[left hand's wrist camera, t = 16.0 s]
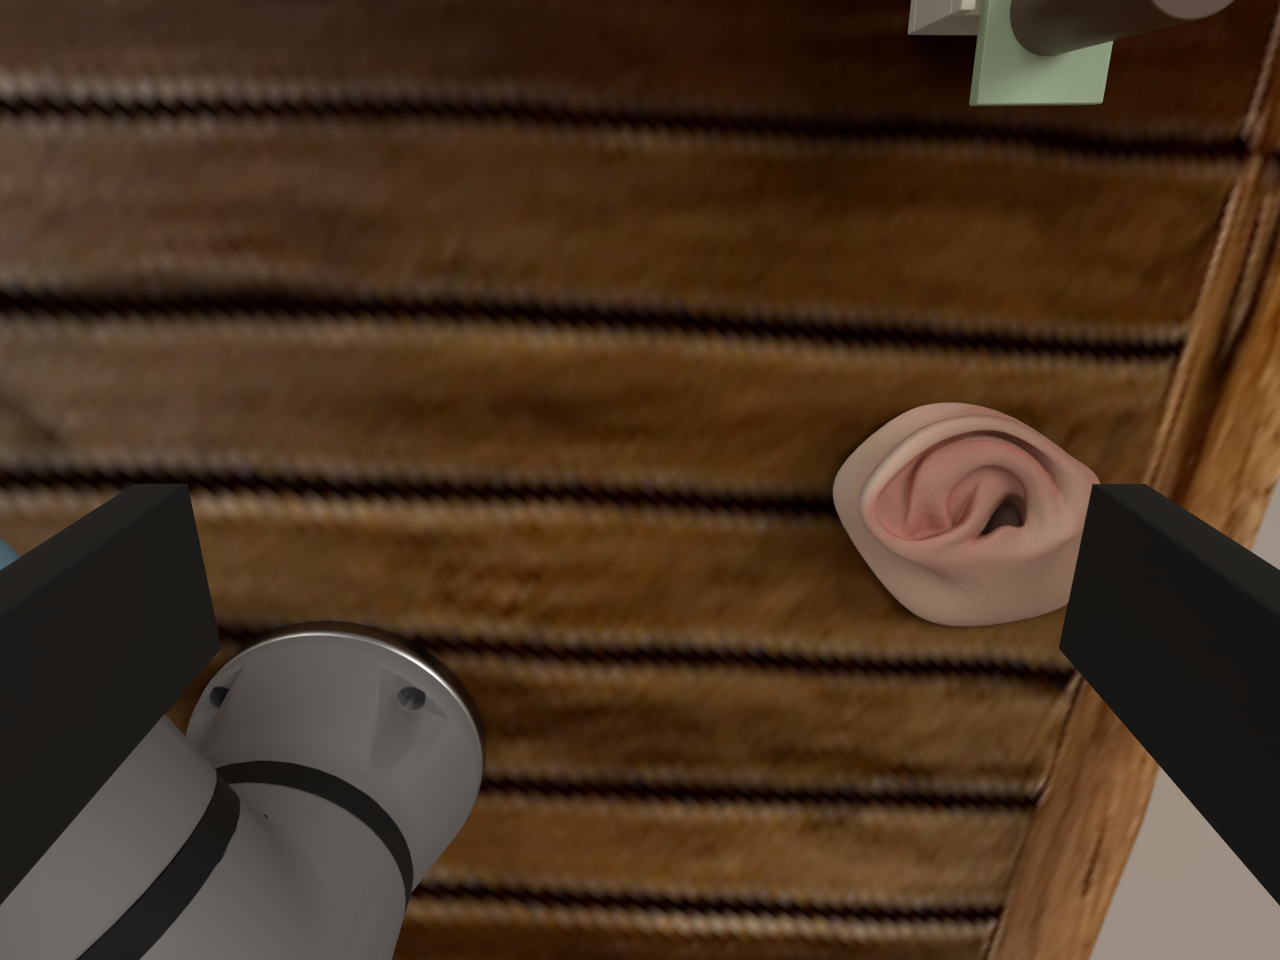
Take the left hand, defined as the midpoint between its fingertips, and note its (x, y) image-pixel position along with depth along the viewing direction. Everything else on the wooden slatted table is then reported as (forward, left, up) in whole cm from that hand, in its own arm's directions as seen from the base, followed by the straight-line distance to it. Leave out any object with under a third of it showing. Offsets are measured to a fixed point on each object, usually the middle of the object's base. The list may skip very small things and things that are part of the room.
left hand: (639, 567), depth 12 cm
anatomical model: (+16, -11, -27) cm, 33 cm away
